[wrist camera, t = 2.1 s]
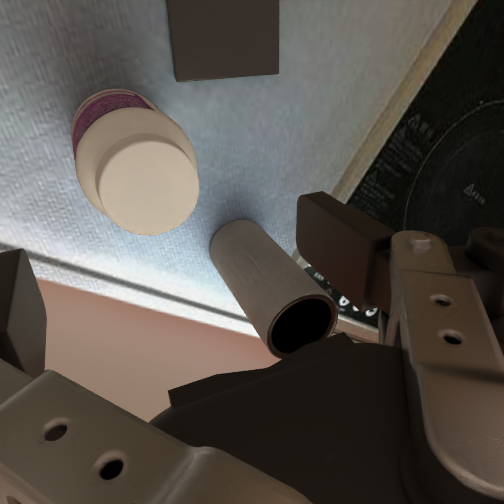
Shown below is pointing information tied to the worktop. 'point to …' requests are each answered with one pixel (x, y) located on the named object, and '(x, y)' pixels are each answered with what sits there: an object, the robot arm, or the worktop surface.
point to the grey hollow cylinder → (272, 288)
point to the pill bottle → (134, 162)
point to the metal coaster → (224, 38)
